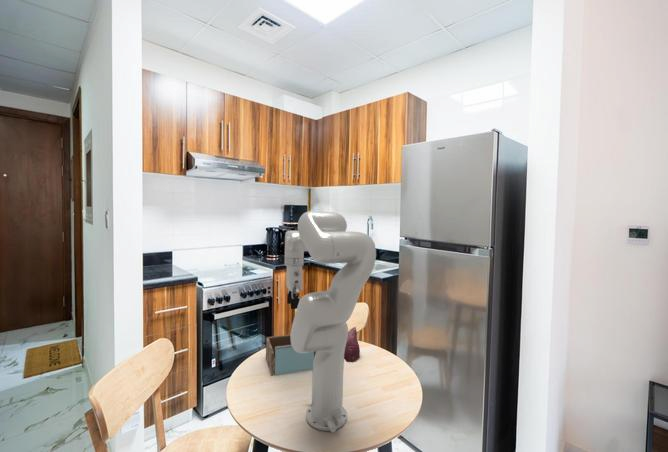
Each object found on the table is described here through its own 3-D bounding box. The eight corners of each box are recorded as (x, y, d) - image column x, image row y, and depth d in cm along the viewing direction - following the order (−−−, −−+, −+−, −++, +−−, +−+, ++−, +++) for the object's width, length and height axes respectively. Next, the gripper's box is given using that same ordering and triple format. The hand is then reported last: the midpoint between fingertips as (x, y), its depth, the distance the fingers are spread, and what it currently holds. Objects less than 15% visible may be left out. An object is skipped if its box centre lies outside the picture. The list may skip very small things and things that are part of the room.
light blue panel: (313, 369, 120) (314, 343, 120) (275, 375, 115) (275, 347, 115) (312, 368, 121) (313, 341, 121) (274, 373, 116) (275, 346, 116)
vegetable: (358, 359, 139) (367, 327, 140) (357, 367, 129) (367, 333, 130) (336, 351, 140) (345, 320, 141) (334, 359, 130) (344, 325, 131)
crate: (316, 371, 121) (317, 347, 120) (271, 379, 115) (271, 353, 114) (306, 354, 135) (307, 332, 134) (265, 360, 129) (266, 337, 128)
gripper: (308, 264, 115) (307, 312, 115) (298, 258, 131) (297, 299, 132) (289, 265, 112) (288, 313, 113) (280, 258, 128) (279, 300, 129)
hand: (292, 305), depth 122 cm, fingers open, 6 cm apart
